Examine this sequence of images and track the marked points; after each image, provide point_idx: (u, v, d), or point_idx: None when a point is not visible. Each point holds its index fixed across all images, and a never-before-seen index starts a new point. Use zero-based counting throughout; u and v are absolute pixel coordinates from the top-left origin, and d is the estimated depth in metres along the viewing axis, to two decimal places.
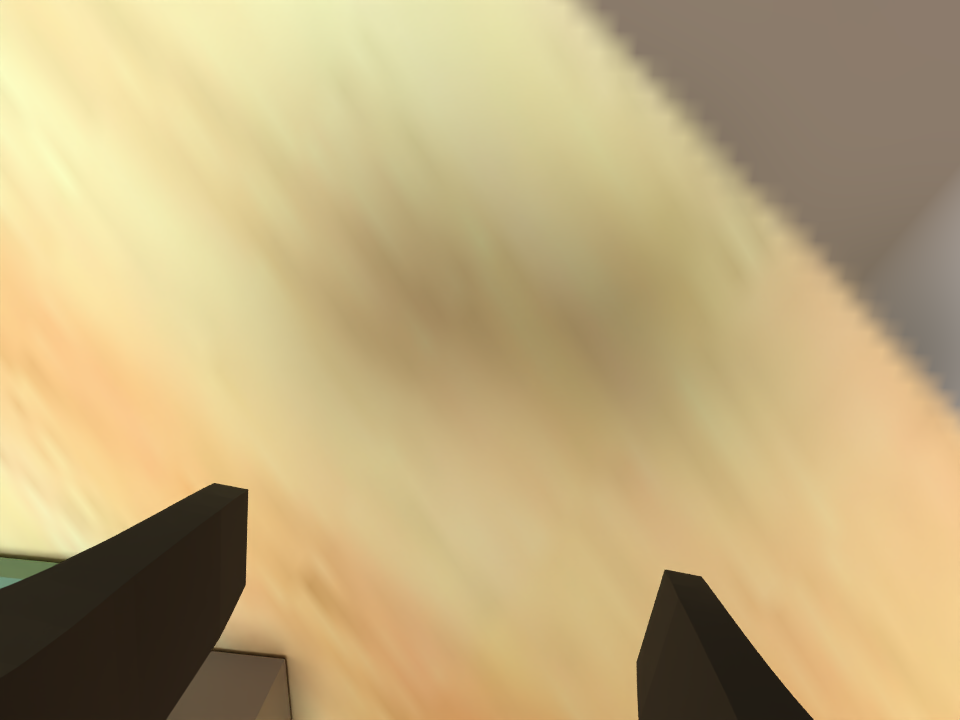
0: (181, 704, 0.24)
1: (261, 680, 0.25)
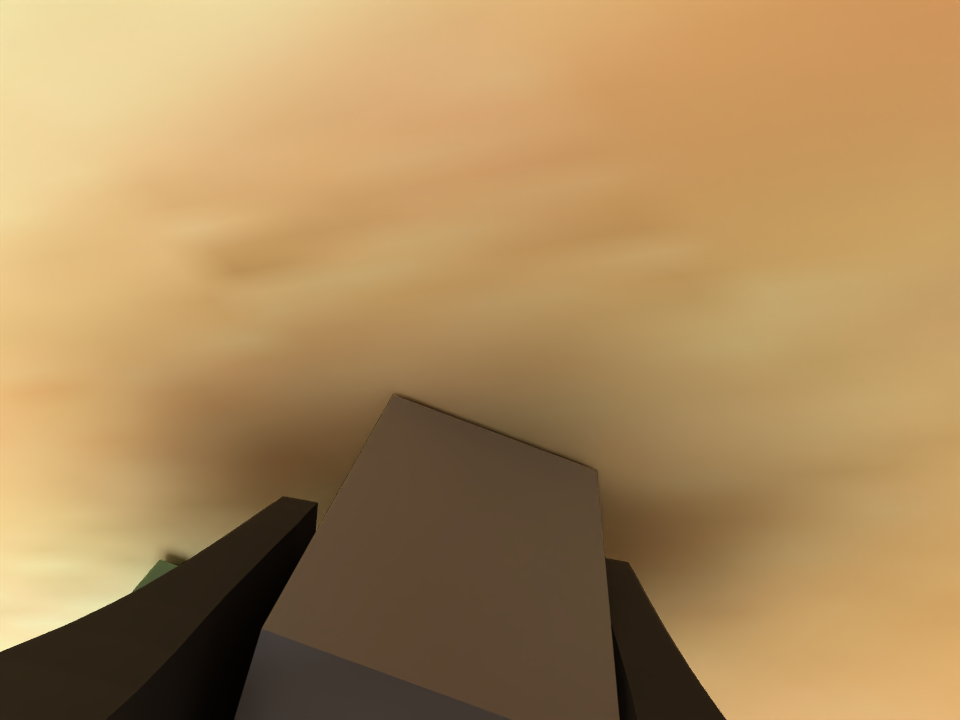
0: None
1: None
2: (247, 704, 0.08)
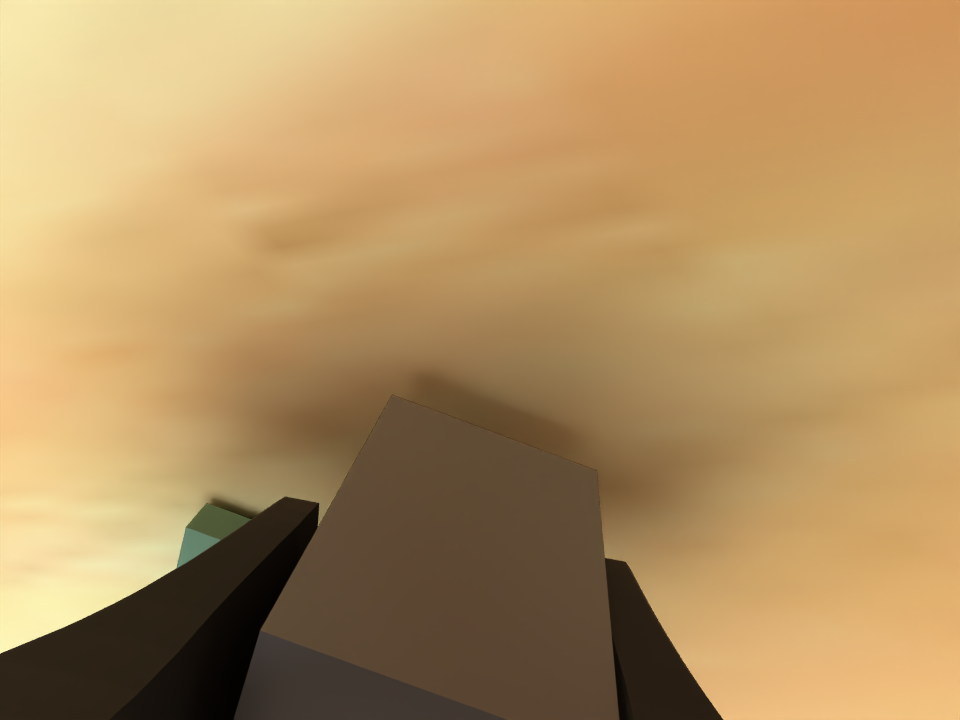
0: None
1: None
2: (246, 706, 0.08)
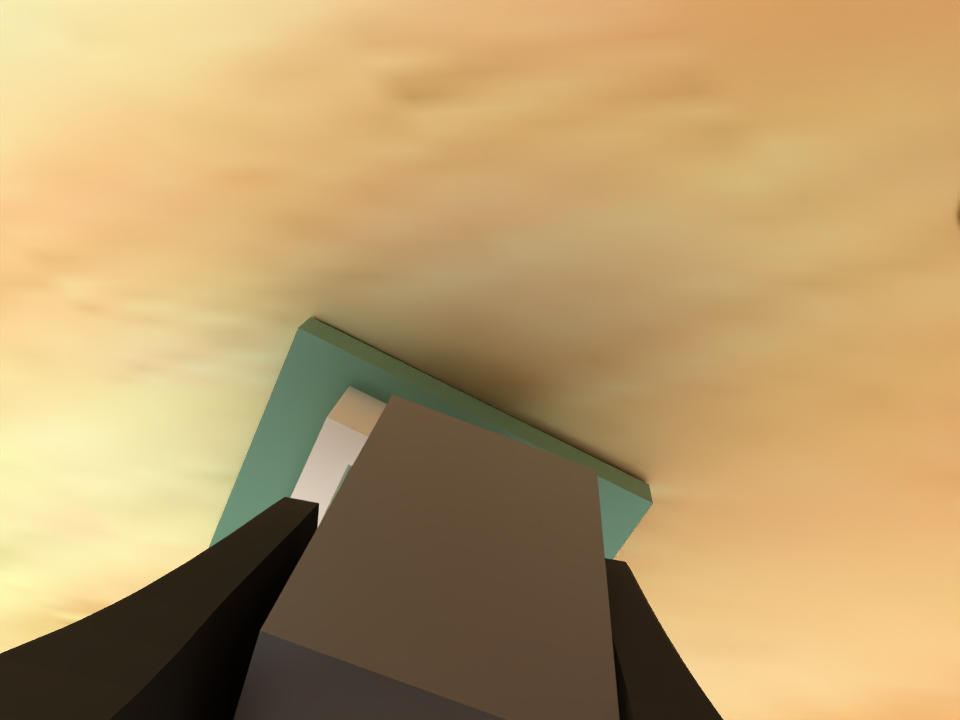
0: None
1: None
2: (245, 706, 0.08)
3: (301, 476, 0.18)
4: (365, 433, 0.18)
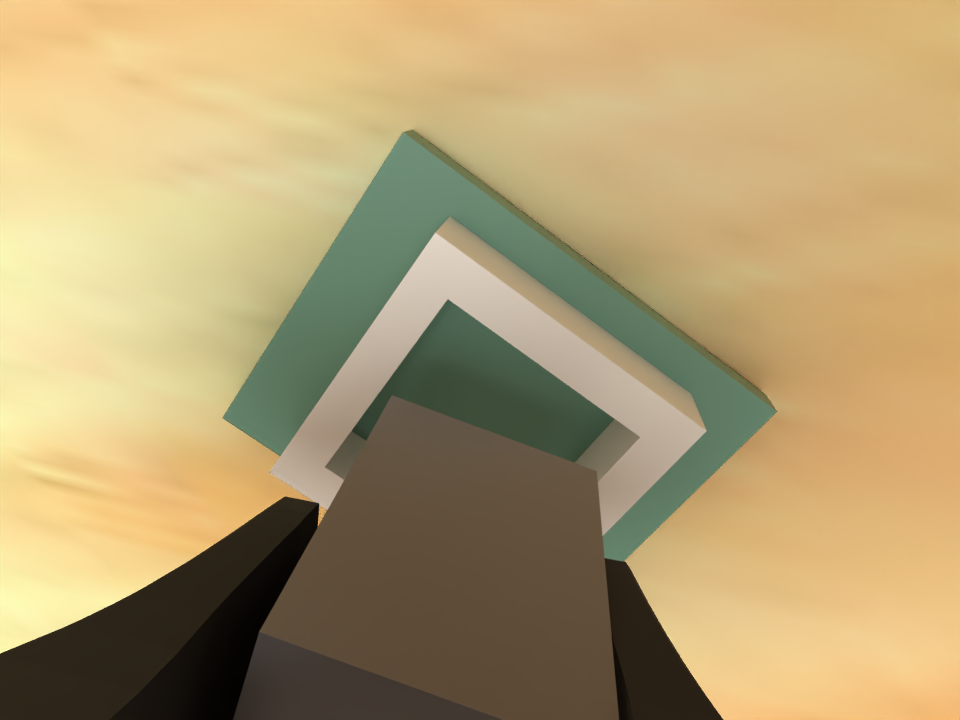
0: None
1: None
2: (245, 707, 0.08)
3: (385, 307, 0.15)
4: (477, 261, 0.14)
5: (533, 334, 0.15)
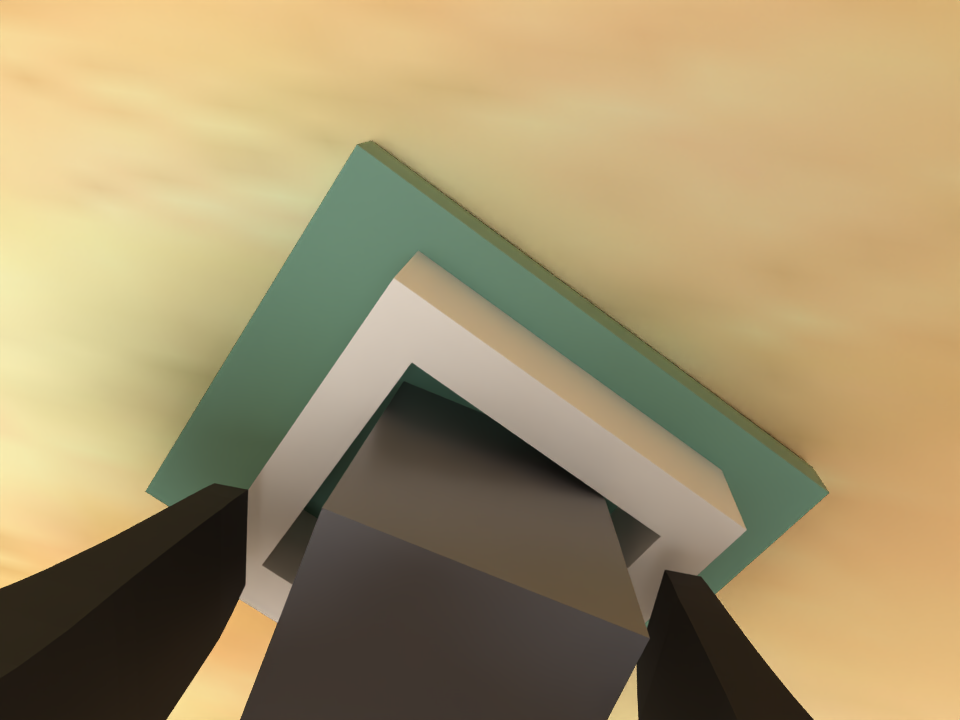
0: None
1: None
2: (297, 592, 0.08)
3: (332, 371, 0.12)
4: (449, 315, 0.11)
5: (523, 407, 0.11)
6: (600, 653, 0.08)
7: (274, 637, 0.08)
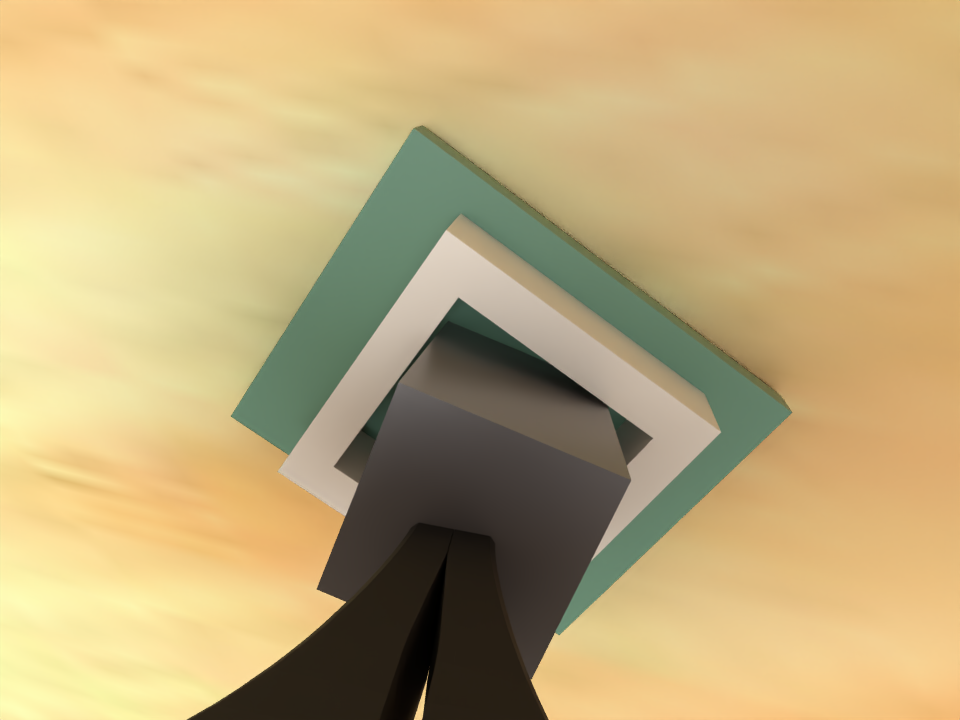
0: None
1: None
2: (380, 444, 0.11)
3: (395, 305, 0.15)
4: (488, 259, 0.14)
5: (545, 333, 0.15)
6: (595, 491, 0.11)
7: (362, 478, 0.11)
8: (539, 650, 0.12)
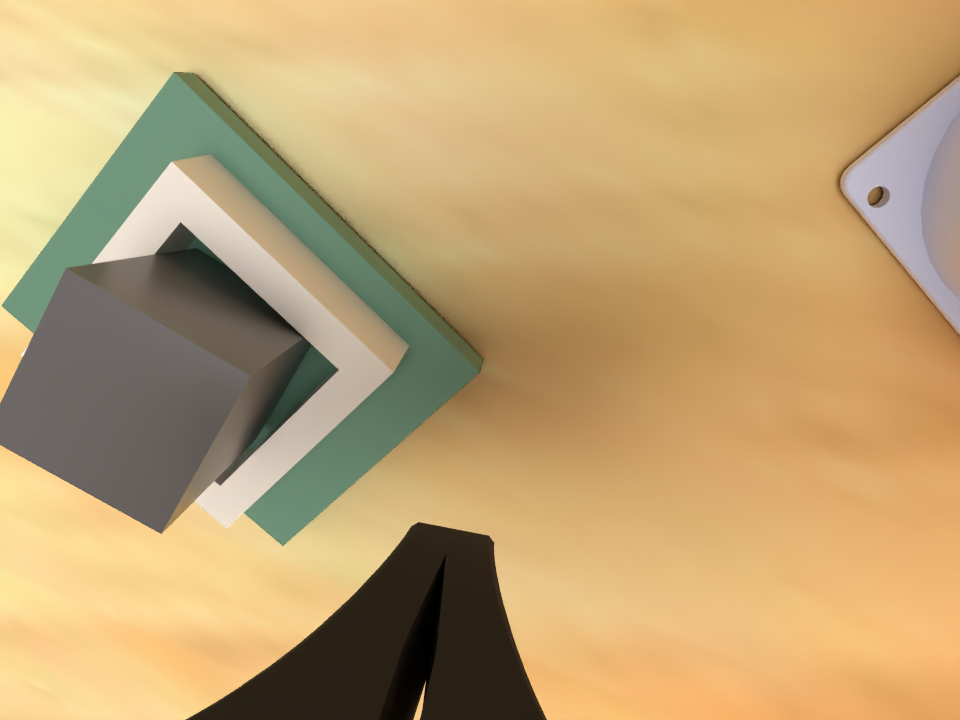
0: None
1: None
2: (46, 318, 0.14)
3: (127, 220, 0.17)
4: (207, 193, 0.17)
5: (252, 264, 0.17)
6: (221, 381, 0.14)
7: (30, 345, 0.14)
8: (169, 510, 0.14)
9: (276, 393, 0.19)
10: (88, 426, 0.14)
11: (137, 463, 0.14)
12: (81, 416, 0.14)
